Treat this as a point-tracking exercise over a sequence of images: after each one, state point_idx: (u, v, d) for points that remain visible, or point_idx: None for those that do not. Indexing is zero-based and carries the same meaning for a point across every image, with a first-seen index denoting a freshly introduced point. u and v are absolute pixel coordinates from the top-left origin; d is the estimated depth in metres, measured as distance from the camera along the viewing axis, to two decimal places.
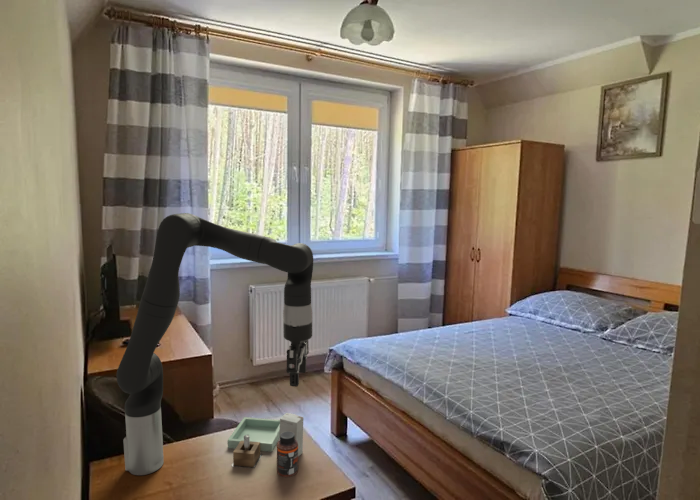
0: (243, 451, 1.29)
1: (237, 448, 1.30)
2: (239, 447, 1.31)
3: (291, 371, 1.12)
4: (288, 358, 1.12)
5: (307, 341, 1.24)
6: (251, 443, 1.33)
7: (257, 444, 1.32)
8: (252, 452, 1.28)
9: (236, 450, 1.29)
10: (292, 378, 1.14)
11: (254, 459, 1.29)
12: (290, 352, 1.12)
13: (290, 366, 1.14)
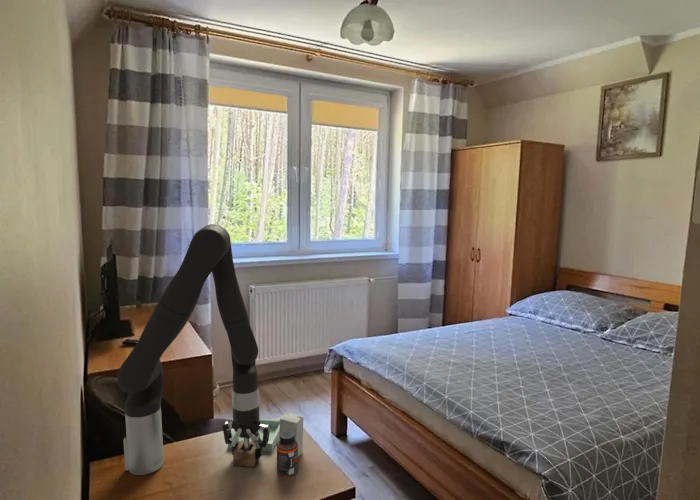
0: (243, 451, 1.29)
1: (237, 448, 1.30)
2: (239, 447, 1.31)
3: (266, 442, 1.30)
4: (267, 434, 1.29)
5: None
6: (251, 443, 1.33)
7: None
8: (252, 452, 1.28)
9: (236, 450, 1.29)
10: (260, 451, 1.30)
11: (254, 459, 1.29)
12: (268, 428, 1.29)
13: (258, 443, 1.29)
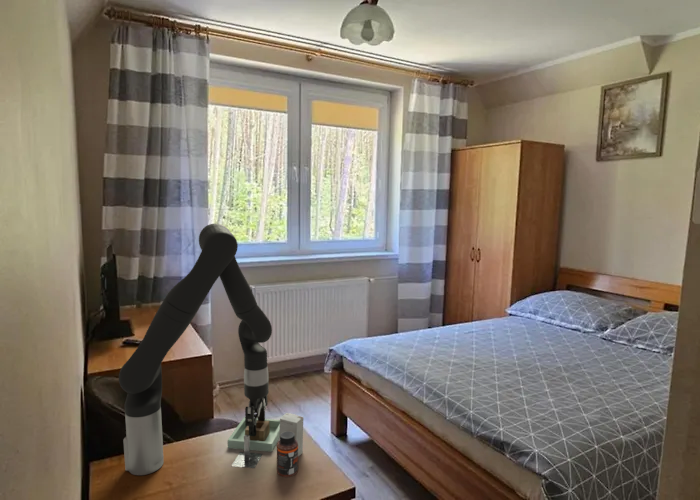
0: (264, 426, 1.42)
1: (258, 429, 1.40)
2: (256, 429, 1.41)
3: None
4: None
5: None
6: None
7: None
8: (266, 421, 1.45)
9: (260, 429, 1.40)
10: None
11: None
12: None
13: None
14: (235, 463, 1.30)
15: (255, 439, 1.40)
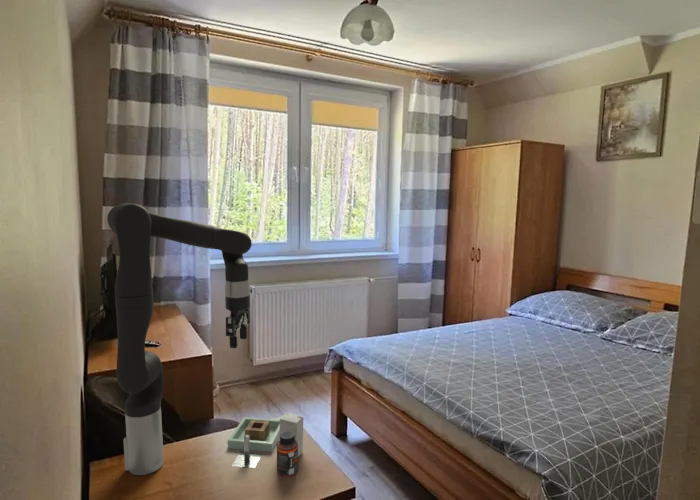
0: (264, 426, 1.42)
1: (258, 429, 1.40)
2: (256, 429, 1.41)
3: None
4: None
5: None
6: (251, 424, 1.44)
7: (254, 420, 1.46)
8: (266, 421, 1.45)
9: (260, 429, 1.40)
10: None
11: None
12: None
13: None
14: (235, 463, 1.30)
15: (255, 439, 1.40)
